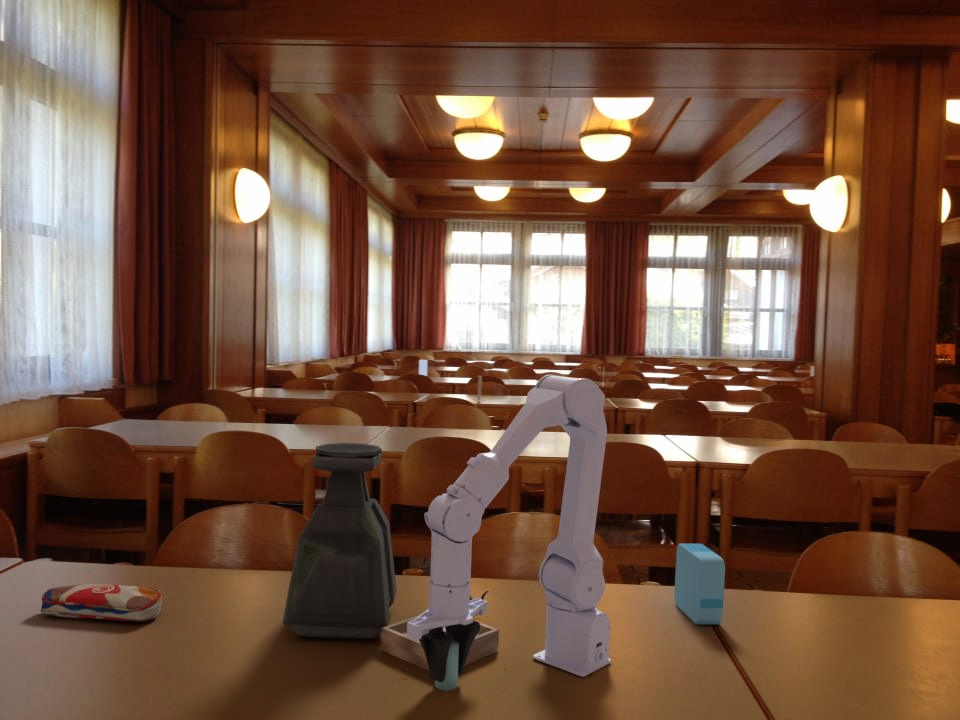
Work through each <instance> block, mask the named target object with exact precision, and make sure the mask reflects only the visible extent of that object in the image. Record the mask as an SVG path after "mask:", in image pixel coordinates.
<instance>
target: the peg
mask: <svg viewBox="0 0 960 720" xmlns="http://www.w3.org/2000/svg"><path fill="white" fill-rule="evenodd" d="M458 659H459V643H458V642H457V641H455V640H453V641H452V643H451V646H450V649H449V652H448V657H447V664H446V675H445V679H444V681H443V682H438V681H436V680H434V687H435V688H436V689H438V690H440V691H452V690H455V689H457V688H458V684H459V683H458V680H459V679H458V677H459V674H458Z"/></svg>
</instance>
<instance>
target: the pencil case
mask: <svg viewBox="0 0 960 720" xmlns="http://www.w3.org/2000/svg"><path fill="white" fill-rule="evenodd" d="M162 594H163V593H162V592H161V591H160V590H158V589H155V588H151V587H142V586H135V585H133V586H131V585H123V584H121V585H120V584H110V583H109V584H106V583H86V584H85V583H83V584H74V585H66V586H56V587H55V586H54V587H52V588H49V589H47V590H46V591H44V593H43V594H42V598H41V601H42V603H41V608H40V613H42V614H43V615H44V614H45V615H46V616H52V617H58V618H59V617H60V618H67V619H69V618H70V619H95V620H97V619H98V620H111V621H112V620H114V621H121V622H123V621H124V622H147V621H151V620H153V619H154V618H155V617H157V616H158V615H159V614H160V612H161V610H162V606H163V605H162V603H163V602H162V601H163V599H162V596H163V595H162Z"/></svg>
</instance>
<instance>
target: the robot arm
mask: <svg viewBox="0 0 960 720" xmlns="http://www.w3.org/2000/svg"><path fill="white" fill-rule="evenodd" d="M605 399H606V395H605V394H604V392H603V390H602V389H600V387H599V386H598V385H597V383H595V381H593V380H592V379H590V378H584V377H583V378H580V377H579V378H578V377H570V376H569V377H568V376H561V375H557V374H546V375H543V376H542V377H540V379H538V381H537V382H536V383H535V386H534V387H532V388H531V389H530V390H529V391H528V392H527V396H526V398H525V402H524V404H523V406H522V407H521V408H520V410H519V412H518V413H517V414H516V415H515V417H514V418H513V419H512V421H511V423H510V424H509V425H508V427H507V428H506V429H505V431H504V432H503V433H502V435H501V436H500V437H499V439H498V440H497V442H496V443H495V445H494V446H493V448H492V449H491V450H490V451H489V452H482V453H481V452H480V453H478V454H477V455H476V456H475V457H473V456H471V457H470V458H469V460H467V462H466V464H467V467H466V468H465V469H464V471H463V472H462V473H461V474H460V475H459V477H458V478H457V479H456V480H455V482H454V483H453V484H450V485H448V487H447V488H446V493H442V494H441V495H438V496H436V497H435V498H434V499H433V500H432V501H431V503H430V505H429V506H428V510H427V512H424V514H423V515H424V521H425V524H426V526H427V527H428V529H429V530H430V533H431V535H430V536H431V547H430V569H429V570H430V572H429V573H430V574H429V596H428V597H429V599H428V600H429V601H428V609H426V610H425V611H423V613H421V614H419V615H420V616H418V615H417V616H418V617H417V618H416V619H414V620H412V621H410V622H407V636H408V637H410V638H412V639H415V640H419V641H420V643H421V645H422V648H423V650H424V653H425V656H426V659H427V663H428V668H429V671H428V672H429V677H430V679H432V680H434V681H435V680H436V681H438V682H443V681H444V679H445V675H446V664H447V657H448V652H449V649H450V646H451V643H452V641H453V640H455V641H457V642H458V643H459V659H458V675H461V674H463V672H464V668H465V667H466V666H465V662H466V659H467V655H468V652H469V649H470V647H471V645H472V642H473V640H474V639H475V637H476V635H477V634H478V632H479V631H480V623H481V622H480V623H479V621H477V620H474V617H476V616H478V615H480V616H485V615H487V614H488V601H487V600H484V599H483V600H482V599H481V598H477V597H476V598H474V599H473V598H472V599H473V600H470V595H471V594H470V593H471V577H472V576H471V573H472V572H471V571H472V550H473V549H472V548H473V545H472V543H473V537H474V535H476V534H478V532H479V531H480V528H481V526H482V520H483V517H482V516H483V515H484V513H485V509H486V508H488V506H489V505H490V503H491V502H492V501H493V500H494V498H495V497H496V496H497V495H498V493H499V492H501V490H502V489H503V487H504V486H505V485H506V484H507V482H508V481H509V479H510V472H509V471H510V470H509V468H510V466H511V465H512V463H514V462H515V461H516V459H518V457H519V456H520V455H521V454H522V453H523V452H524V451H525V449H527V447H528V446H529V445H530V444H531V443H532V442H533V441H534V439H536V437H537V436H539V434H540V433H541V432H542V431H543V430H544V429H547V428H552V427H556V426H560V427H561V428H562V429H563V431H564V432H565V433H566V434H567V435H568V437H569V447H568V456H567V462H566V464H567V465H566V471H565V478H564V485H563V494H562V502H561V510H560V516H559V517H560V518H559V524H558V525H559V526H558V532H557V533H558V534H557V538H555V539H554V540H552V541H551V542H550V543H549V544H548V545H547V548H546V553H545V557H544V559H543V561H542V563H541V565H540V567H539V571H538V578H539V579H538V580H539V583H540V585H541V586H542V588H543V589H544V590H545V598H546V599H547V600H546V618H545V619H546V623H545V642H544V649H543V650H540V651H539V652H537V653H534V654H533V655H532V658H533V659H534V660H537V661H539V662H542V663H545V664H547V665H550V666H552V667H555V668H558V669H560V670H563V671H566V672H568V673H571V674H573V675H576V676H578V677H583V678H585V677H587V676H588V675H590V674H591V673H593V672H596V671H598V670H599V669H601V668H603V667H605V666H607V665H609V664H610V663H612V659H611V658H610V639H611V638H610V635H611V623H610V622H611V621H610V618H609V616H608V614H607V613H605V612H603V611H601V610H600V609H598V607H597V605H598V604H599V602H600V601H601V600H602V599H603V596H604V594H605V591H606V581H605V577H604V571H603V570H604V569H603V568H604V567H603V566H604V559H603V557H602V556H601V554H600V553H599V551H598V549H597V548H596V546H595V543H594V539H595V531H596V525H597V524H596V523H597V516H598V515H597V514H598V510H599V509H598V507H599V499H600V491H601V483H602V475H603V467H604V462H605V461H604V459H605V452H606V444H607V435H608V428H607V423H606V417H605V413H604V408H605V407H604V406H605ZM476 621H477V622H476ZM444 627H445V629H446V634H447V635H446V634H445V631H443V628H444Z"/></svg>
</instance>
